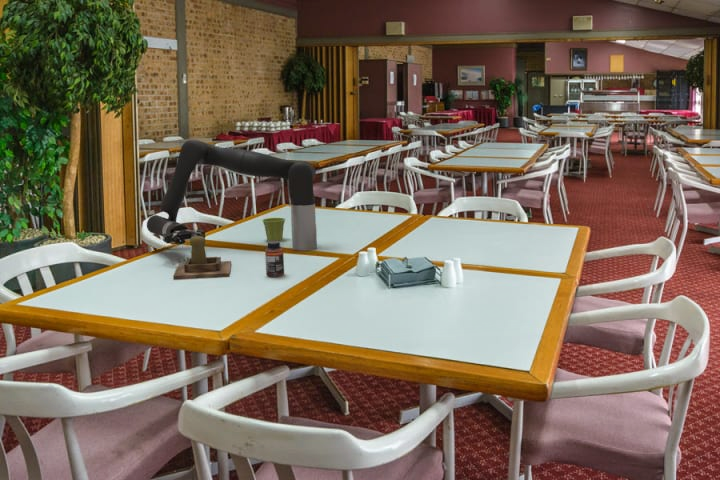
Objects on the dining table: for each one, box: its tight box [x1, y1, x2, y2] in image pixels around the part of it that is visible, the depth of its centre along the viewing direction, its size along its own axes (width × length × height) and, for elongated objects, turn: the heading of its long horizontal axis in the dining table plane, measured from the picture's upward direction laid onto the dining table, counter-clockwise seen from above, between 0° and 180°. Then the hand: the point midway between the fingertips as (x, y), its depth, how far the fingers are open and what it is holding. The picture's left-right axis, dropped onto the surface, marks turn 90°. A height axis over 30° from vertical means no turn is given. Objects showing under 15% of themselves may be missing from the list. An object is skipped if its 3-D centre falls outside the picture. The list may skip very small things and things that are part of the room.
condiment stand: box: [172, 256, 232, 280], centre depth 254 cm, size 18×18×4 cm
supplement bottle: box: [264, 241, 285, 278], centre depth 247 cm, size 6×6×11 cm
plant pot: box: [261, 217, 286, 242], centre depth 304 cm, size 9×9×9 cm
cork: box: [189, 236, 208, 265], centre depth 253 cm, size 6×6×11 cm
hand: (191, 239), depth 262 cm, fingers open, 8 cm apart
